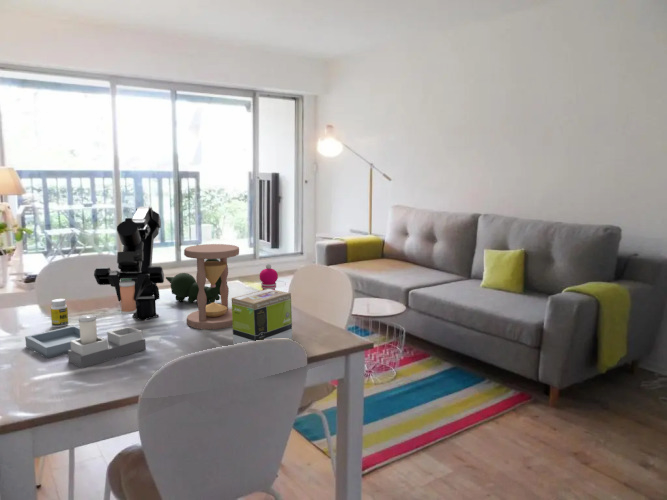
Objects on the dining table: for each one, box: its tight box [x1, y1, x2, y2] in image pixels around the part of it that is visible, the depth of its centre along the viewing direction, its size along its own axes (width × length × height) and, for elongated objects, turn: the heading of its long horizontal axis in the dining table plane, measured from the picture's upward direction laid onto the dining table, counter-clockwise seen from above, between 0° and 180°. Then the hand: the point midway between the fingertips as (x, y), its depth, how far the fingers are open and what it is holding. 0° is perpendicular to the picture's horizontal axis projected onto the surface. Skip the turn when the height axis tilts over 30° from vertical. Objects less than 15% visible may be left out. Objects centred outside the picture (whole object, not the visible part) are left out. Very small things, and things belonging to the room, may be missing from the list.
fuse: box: [77, 314, 98, 345], centre depth 134 cm, size 4×4×9 cm
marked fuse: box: [119, 281, 137, 315], centre depth 147 cm, size 4×4×9 cm
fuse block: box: [67, 326, 147, 369], centre depth 139 cm, size 18×7×6 cm, turn 141°
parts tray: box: [24, 325, 99, 359], centre depth 146 cm, size 14×14×3 cm
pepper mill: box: [259, 263, 279, 290], centre depth 168 cm, size 7×7×20 cm
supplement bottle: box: [50, 298, 69, 328], centre depth 164 cm, size 5×5×8 cm
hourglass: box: [183, 243, 240, 330], centre depth 169 cm, size 18×18×25 cm
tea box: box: [231, 289, 293, 345], centre depth 149 cm, size 15×10×15 cm, turn 141°
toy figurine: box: [165, 259, 222, 304], centre depth 193 cm, size 9×19×25 cm
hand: (127, 300), depth 146 cm, fingers closed on marked fuse, 4 cm apart
